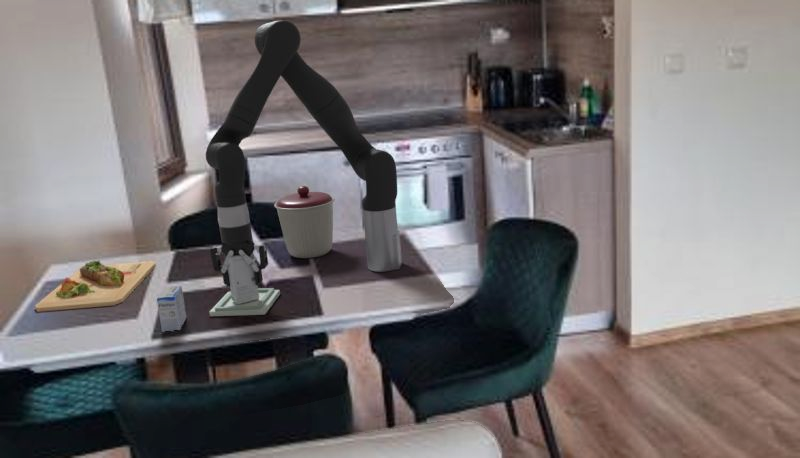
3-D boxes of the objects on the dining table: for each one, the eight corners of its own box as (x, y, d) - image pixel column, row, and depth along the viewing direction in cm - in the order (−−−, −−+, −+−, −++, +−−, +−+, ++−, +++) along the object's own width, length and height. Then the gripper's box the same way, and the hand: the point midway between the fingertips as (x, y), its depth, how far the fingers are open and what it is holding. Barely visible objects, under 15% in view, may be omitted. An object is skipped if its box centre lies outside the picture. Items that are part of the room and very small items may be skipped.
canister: (273, 264, 225) (264, 194, 219) (290, 246, 242) (282, 181, 236) (333, 261, 222) (325, 191, 216) (345, 243, 239) (338, 178, 234)
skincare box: (237, 305, 189) (230, 258, 186) (231, 300, 193) (224, 255, 189) (260, 298, 192) (254, 252, 189) (253, 294, 196) (247, 249, 193)
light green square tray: (280, 294, 198) (279, 287, 198) (265, 314, 185) (264, 307, 185) (228, 296, 200) (227, 289, 200) (210, 316, 187) (208, 309, 186)
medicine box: (168, 320, 187) (163, 287, 184) (187, 318, 187) (181, 285, 185) (162, 332, 179) (155, 298, 177) (181, 330, 179) (175, 296, 177)
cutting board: (120, 306, 201) (115, 280, 199) (32, 314, 201) (26, 287, 199) (158, 265, 235) (154, 242, 233) (82, 272, 235) (78, 249, 233)
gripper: (266, 216, 190) (275, 279, 194) (211, 219, 192) (221, 281, 196) (258, 224, 182) (267, 289, 187) (201, 227, 184) (211, 291, 189)
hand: (243, 285), depth 191 cm, fingers closed on skincare box, 7 cm apart
